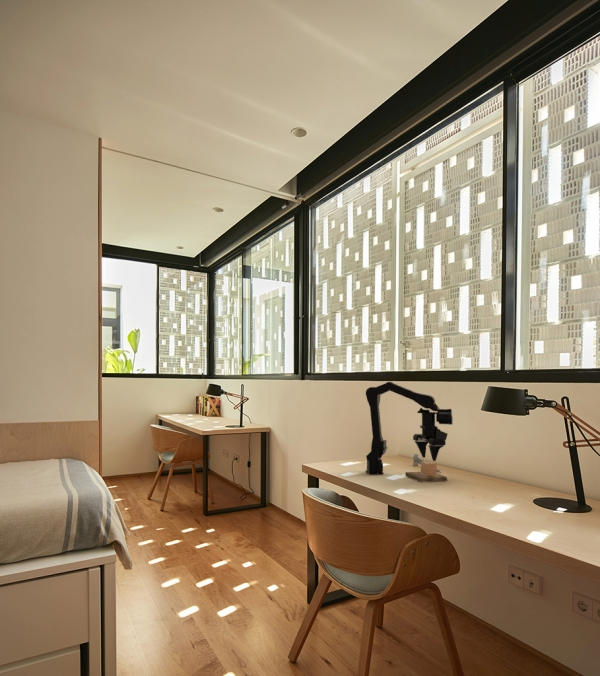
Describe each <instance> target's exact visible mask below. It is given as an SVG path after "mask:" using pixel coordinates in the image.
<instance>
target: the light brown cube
mask: <svg viewBox="0 0 600 676" xmlns="http://www.w3.org/2000/svg"><path fill="white" fill-rule="evenodd" d="M437 464H438V463H436V462H434V461H425V462H421V464H420V472H421V474H424V475H426V476H431V475H437V474H438V472H437V468H438V465H437Z"/></svg>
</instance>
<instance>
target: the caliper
mask: <svg viewBox="0 0 600 676" xmlns="http://www.w3.org/2000/svg"><path fill="white" fill-rule="evenodd" d="M421 462H426V461H425V460H424V458H423V457H422V458H421V457H420V456H419V455H418V453H414V454H413V457H412V464H413V466H415V465H418V466H419V465H421ZM440 472H442V473H443V471H441V469H440V468H438V467H437V473H440Z"/></svg>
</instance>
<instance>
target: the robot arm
mask: <svg viewBox="0 0 600 676" xmlns="http://www.w3.org/2000/svg"><path fill="white" fill-rule="evenodd" d="M387 392H392V393H395V394H397V395H400V396H402V397H403V398H407V399H409V400H412V401H413V402H415V403H417V404H418V405H419V406H421V407H419V410H418V411H417V412H416V413H418V414H421V425H419V429H421V433H415V434H413V436H412V440H413V441H414V443H415V444H416V447H417V448H418V450H419V452H420V455H421V457H422V459H424V458H426V454H427V453H426V452H427V445H428V444H429V445H428V449H429V453H430V456H431V459H432V462H436V460H437V458H438V454H439V452H440V449H441V448H444V446H446V441H447V437H448V432H445V431H442V430H441V429H440V428H438V426H436V422H437V423H438V424H439V425H451V426H452V425H453V421H454V420H453V419H454V418H453V411H452V408H447V409H446V408H440V407H439V406H438V405H437V404H436V399H435V398H434V396H432V395H429V394H425V393H420V392H416V391H414V390H411V389H408V388H406V387H404V386H401V385H398V384H396V383H394V382H392V381H387V382H385V383H383V384H380V385H378V386H370V387H368V388H367V389H366V390H365V396H366V401H367V402H368V406H369V411H370V421H371V432H372V440H371V445H370V446H371V447H370V451H369V452H368V453H367V454H366V470H365V473H367V474H369V475H384V462H383V460H382V456H384V455H385V454H386V453H387V450H388V446H387V439H384V438H383V436H382V435H383V434H382V433H383V432H382V426H381V425H382V424H381V415H380V414H381V413H380V412H381V411H380V403H381V395H384V394H386V393H387ZM423 408H424V409H423ZM430 410H431V411H430Z"/></svg>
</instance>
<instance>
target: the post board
mask: <svg viewBox="0 0 600 676" xmlns="http://www.w3.org/2000/svg"><path fill="white" fill-rule="evenodd" d="M405 476H406V477H408V476H409V477H408V478H410V477H411V478H410V479H412V478H413V479H412V480H414V479H415V480H414V481H416V480H417V482H418V481H419V482H418V483H423V481H430V482H443V481H442V480H447V481H448V477H447V476H445V475H442V474H441V473H440V474H439V473H437V475H431V476H426V475H424V474H421V471H407V472H406V471H405Z"/></svg>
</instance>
